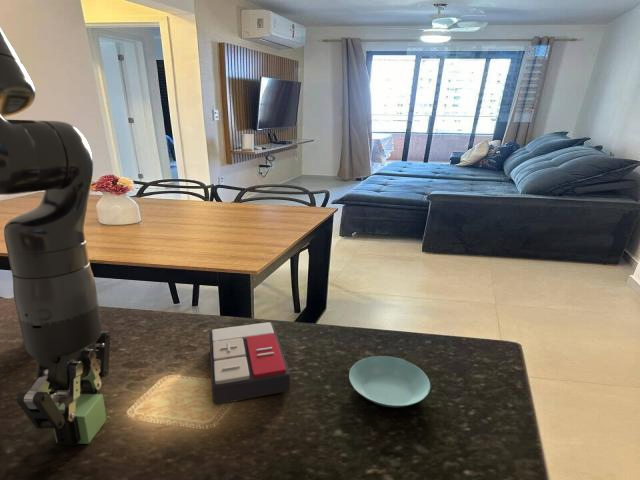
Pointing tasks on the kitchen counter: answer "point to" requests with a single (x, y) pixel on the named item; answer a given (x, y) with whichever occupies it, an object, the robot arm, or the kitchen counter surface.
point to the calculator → (247, 363)
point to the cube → (88, 416)
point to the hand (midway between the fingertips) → (81, 428)
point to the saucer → (389, 381)
